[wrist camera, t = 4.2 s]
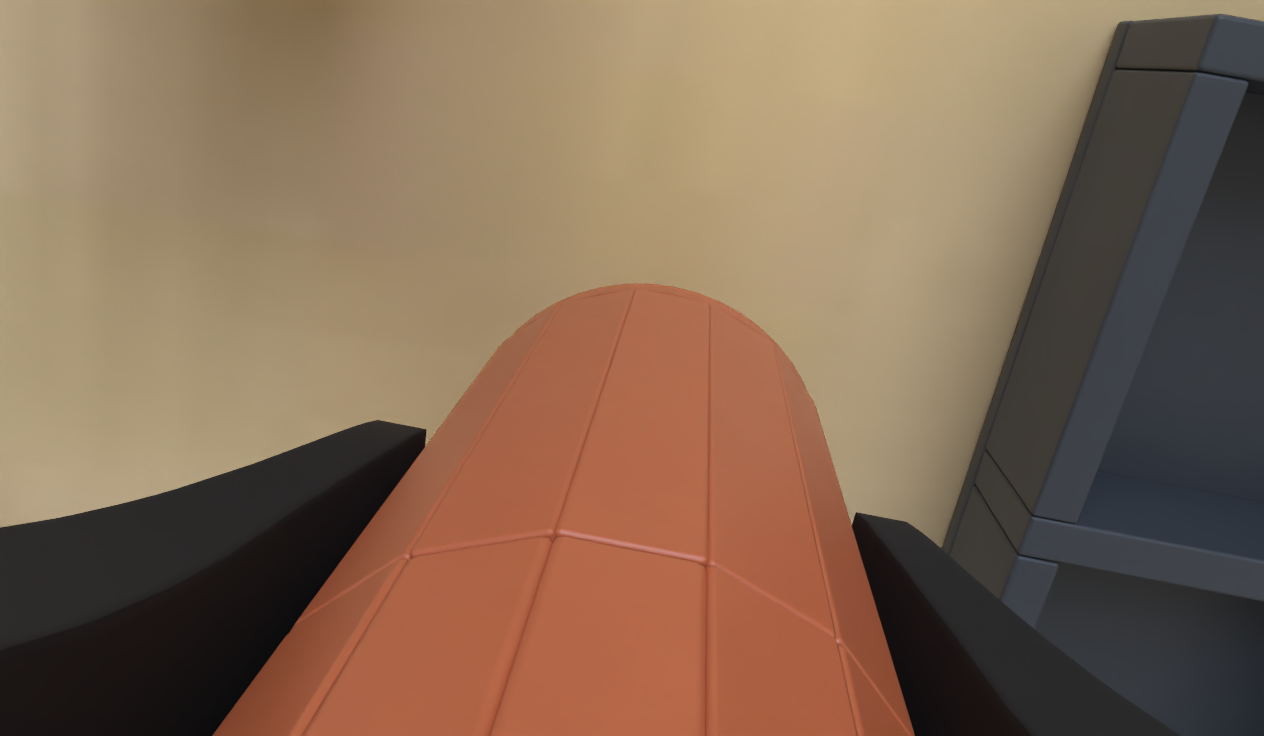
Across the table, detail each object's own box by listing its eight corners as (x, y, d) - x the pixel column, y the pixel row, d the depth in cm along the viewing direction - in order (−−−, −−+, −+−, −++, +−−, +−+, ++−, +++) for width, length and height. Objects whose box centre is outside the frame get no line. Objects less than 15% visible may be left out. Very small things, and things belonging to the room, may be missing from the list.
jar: (774, 630, 14) (871, 1494, 6) (453, 567, 14) (71, 1322, 6) (858, 320, 12) (1183, 896, 4) (491, 251, 12) (18, 664, 4)
